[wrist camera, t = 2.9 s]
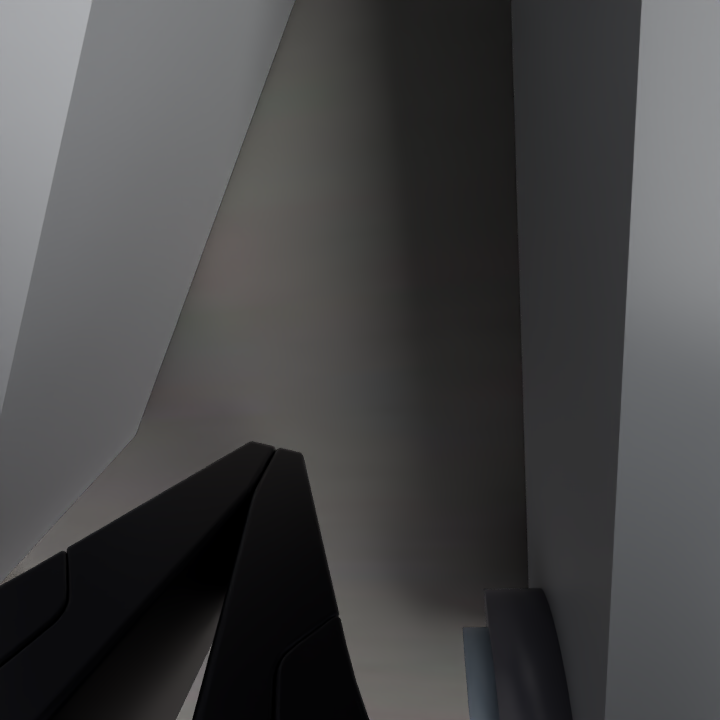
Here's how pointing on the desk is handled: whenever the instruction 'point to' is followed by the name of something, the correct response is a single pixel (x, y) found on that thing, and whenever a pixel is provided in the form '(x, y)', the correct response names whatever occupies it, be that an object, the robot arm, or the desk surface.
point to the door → (106, 219)
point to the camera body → (614, 369)
